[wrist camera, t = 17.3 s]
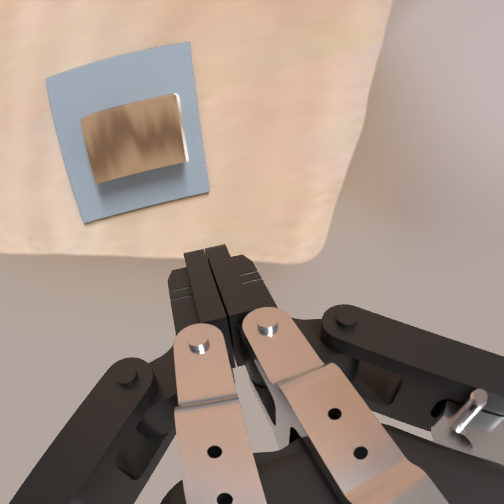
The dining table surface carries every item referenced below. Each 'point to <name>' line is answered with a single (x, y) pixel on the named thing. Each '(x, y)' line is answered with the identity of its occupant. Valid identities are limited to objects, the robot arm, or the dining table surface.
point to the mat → (119, 93)
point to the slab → (135, 137)
